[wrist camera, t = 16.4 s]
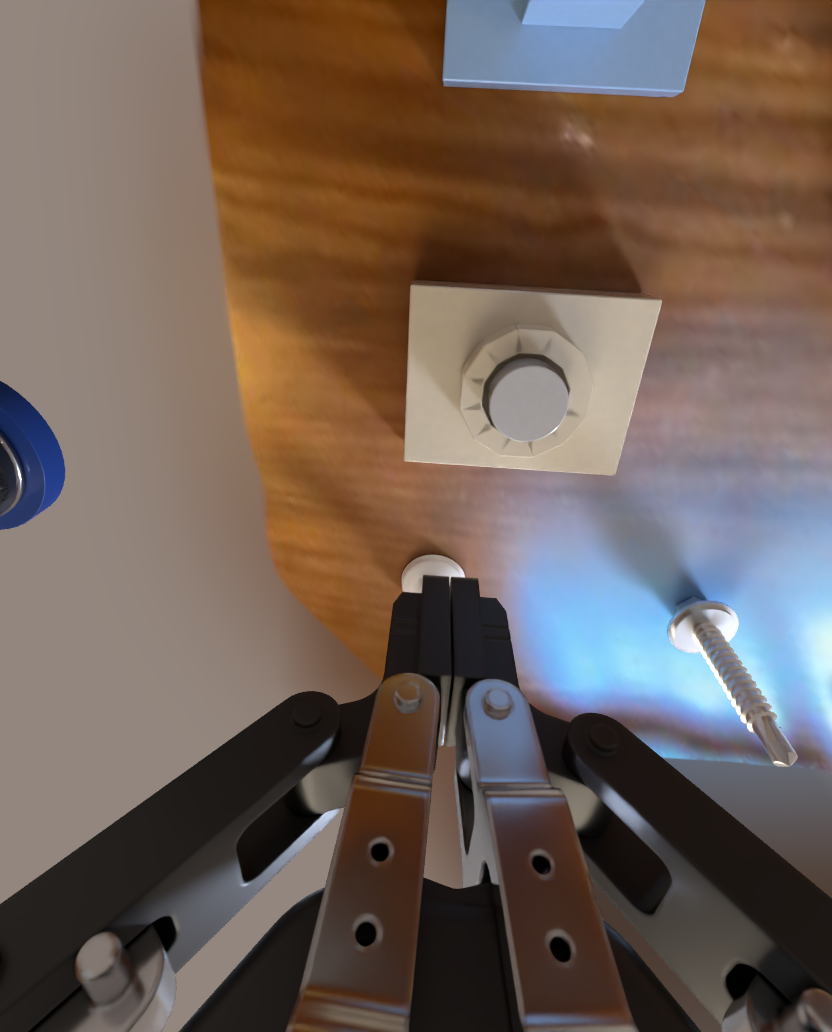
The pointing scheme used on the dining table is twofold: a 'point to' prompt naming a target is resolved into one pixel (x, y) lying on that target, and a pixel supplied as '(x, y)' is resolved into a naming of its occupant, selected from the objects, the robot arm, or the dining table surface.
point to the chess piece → (428, 571)
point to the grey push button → (527, 400)
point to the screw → (729, 669)
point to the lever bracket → (571, 45)
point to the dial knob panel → (515, 335)
